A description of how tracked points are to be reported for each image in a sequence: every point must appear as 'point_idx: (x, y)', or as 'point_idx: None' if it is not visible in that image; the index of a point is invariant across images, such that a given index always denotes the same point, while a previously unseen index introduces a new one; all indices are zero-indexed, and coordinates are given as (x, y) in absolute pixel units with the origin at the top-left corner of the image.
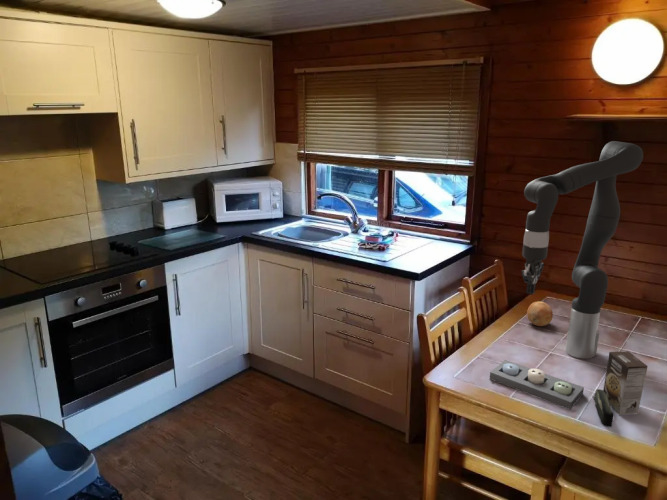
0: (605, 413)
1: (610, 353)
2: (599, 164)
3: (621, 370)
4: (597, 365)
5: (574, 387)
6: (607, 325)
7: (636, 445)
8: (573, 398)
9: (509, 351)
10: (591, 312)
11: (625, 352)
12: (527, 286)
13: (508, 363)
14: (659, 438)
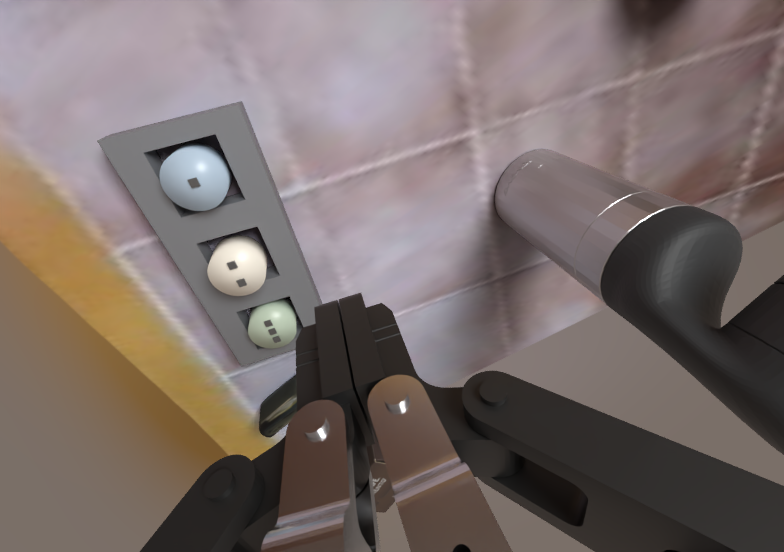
0: (260, 429)
1: (371, 465)
2: None
3: None
4: (492, 257)
5: None
6: (763, 124)
7: (265, 448)
8: (261, 358)
9: (359, 21)
10: (614, 310)
11: None
12: (297, 385)
13: (205, 157)
14: None
